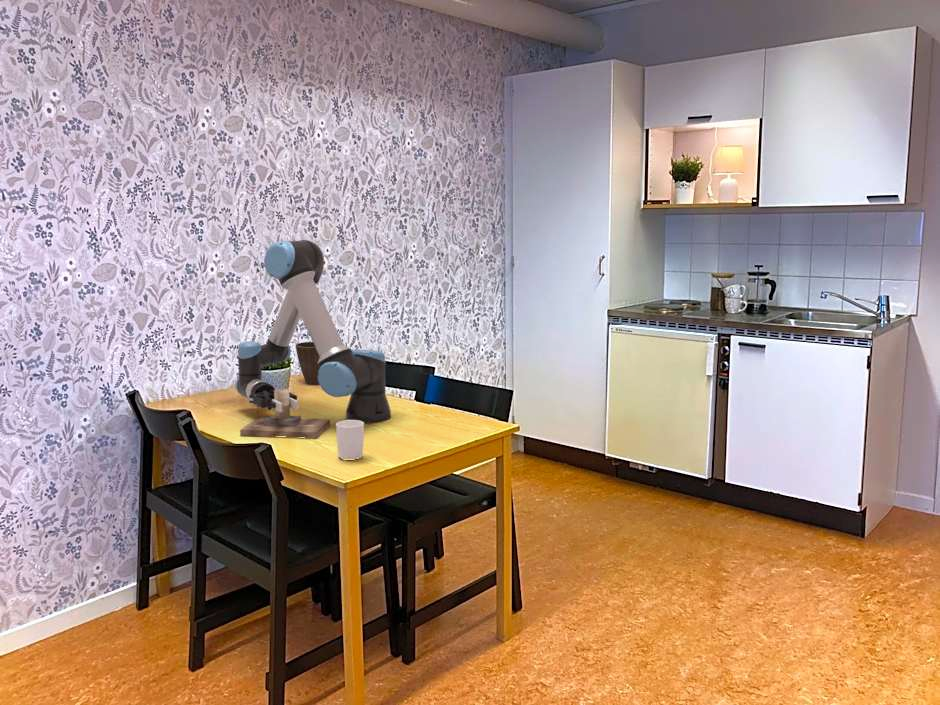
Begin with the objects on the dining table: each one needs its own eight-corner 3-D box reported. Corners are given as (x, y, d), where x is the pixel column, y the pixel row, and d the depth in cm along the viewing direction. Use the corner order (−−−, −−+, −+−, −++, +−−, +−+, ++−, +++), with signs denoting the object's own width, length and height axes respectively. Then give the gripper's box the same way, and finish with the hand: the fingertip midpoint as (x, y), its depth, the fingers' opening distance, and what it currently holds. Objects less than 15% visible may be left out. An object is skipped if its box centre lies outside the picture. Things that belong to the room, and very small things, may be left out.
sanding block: (301, 421, 258) (300, 388, 256) (295, 426, 252) (294, 392, 250) (270, 420, 259) (269, 387, 257) (264, 425, 253) (263, 391, 251)
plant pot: (289, 385, 321) (288, 345, 319) (308, 378, 335) (307, 340, 333) (322, 388, 317) (321, 348, 314) (340, 380, 331) (339, 342, 328)
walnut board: (330, 425, 262) (330, 419, 262) (316, 438, 246) (316, 432, 246) (258, 422, 264) (258, 416, 264) (240, 436, 249) (240, 429, 248)
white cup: (368, 454, 231) (368, 421, 229) (357, 462, 223) (357, 428, 222) (343, 452, 233) (343, 418, 231) (331, 460, 226) (331, 425, 224)
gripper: (286, 400, 274) (315, 414, 256) (235, 407, 264) (262, 422, 246) (285, 378, 273) (315, 391, 254) (234, 384, 263) (261, 398, 244)
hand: (289, 406), depth 250 cm, fingers closed on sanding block, 5 cm apart
